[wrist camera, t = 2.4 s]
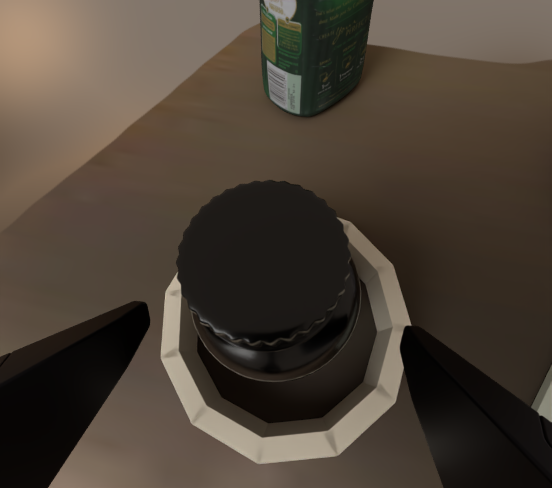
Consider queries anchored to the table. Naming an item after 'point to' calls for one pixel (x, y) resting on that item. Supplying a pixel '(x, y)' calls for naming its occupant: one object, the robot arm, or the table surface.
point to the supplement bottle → (269, 280)
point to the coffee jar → (312, 51)
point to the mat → (544, 398)
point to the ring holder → (303, 433)
